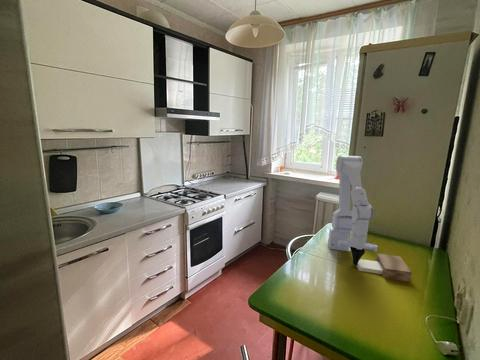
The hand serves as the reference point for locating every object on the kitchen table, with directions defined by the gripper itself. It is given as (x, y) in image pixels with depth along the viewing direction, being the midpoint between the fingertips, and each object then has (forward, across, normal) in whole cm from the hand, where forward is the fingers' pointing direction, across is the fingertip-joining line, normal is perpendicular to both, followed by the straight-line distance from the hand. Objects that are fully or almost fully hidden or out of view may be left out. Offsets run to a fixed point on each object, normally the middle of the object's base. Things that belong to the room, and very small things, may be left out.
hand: (354, 263), depth 105 cm
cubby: (+1, +14, 0) cm, 14 cm away
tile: (+1, +7, 0) cm, 7 cm away
